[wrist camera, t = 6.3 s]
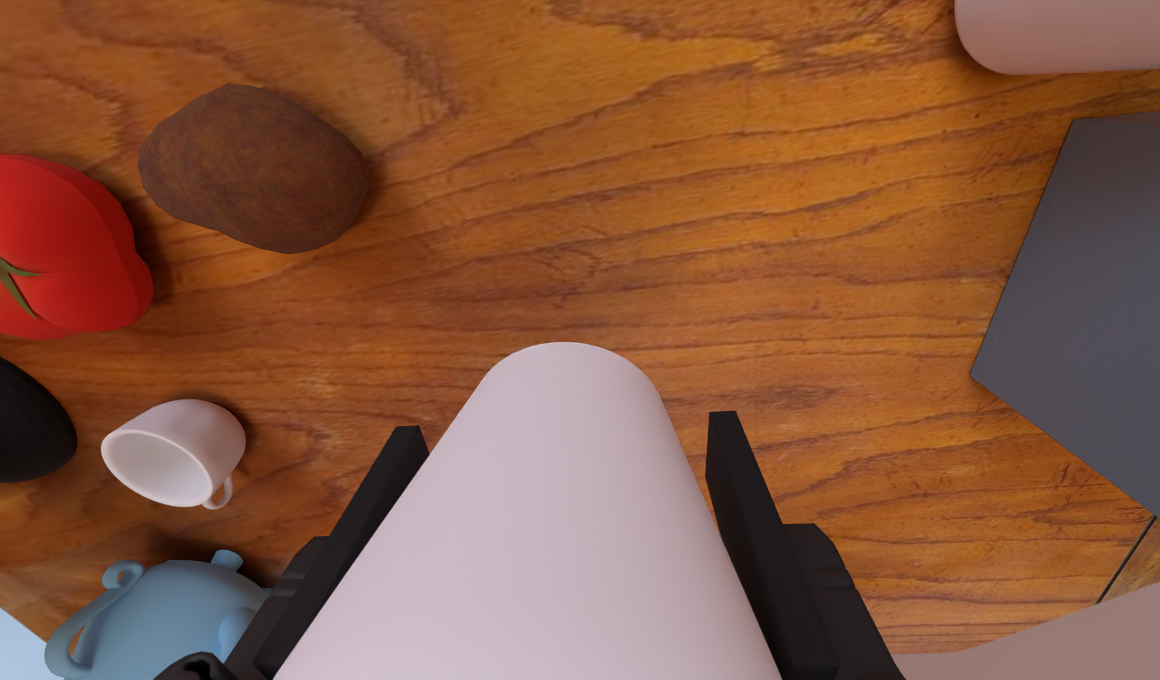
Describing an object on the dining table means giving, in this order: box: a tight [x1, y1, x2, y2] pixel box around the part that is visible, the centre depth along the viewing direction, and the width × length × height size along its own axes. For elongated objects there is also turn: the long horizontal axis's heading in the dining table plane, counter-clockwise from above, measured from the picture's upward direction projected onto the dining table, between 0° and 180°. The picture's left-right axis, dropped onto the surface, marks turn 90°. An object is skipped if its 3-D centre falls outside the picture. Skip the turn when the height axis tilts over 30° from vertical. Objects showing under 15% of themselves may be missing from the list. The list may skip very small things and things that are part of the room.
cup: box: [273, 342, 782, 680], centre depth 10 cm, size 9×9×12 cm
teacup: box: [101, 399, 246, 509], centre depth 35 cm, size 10×8×5 cm
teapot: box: [45, 550, 272, 680], centre depth 42 cm, size 16×20×14 cm
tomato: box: [0, 154, 154, 340], centre depth 26 cm, size 10×11×6 cm
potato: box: [138, 83, 371, 254], centre depth 23 cm, size 8×11×8 cm
